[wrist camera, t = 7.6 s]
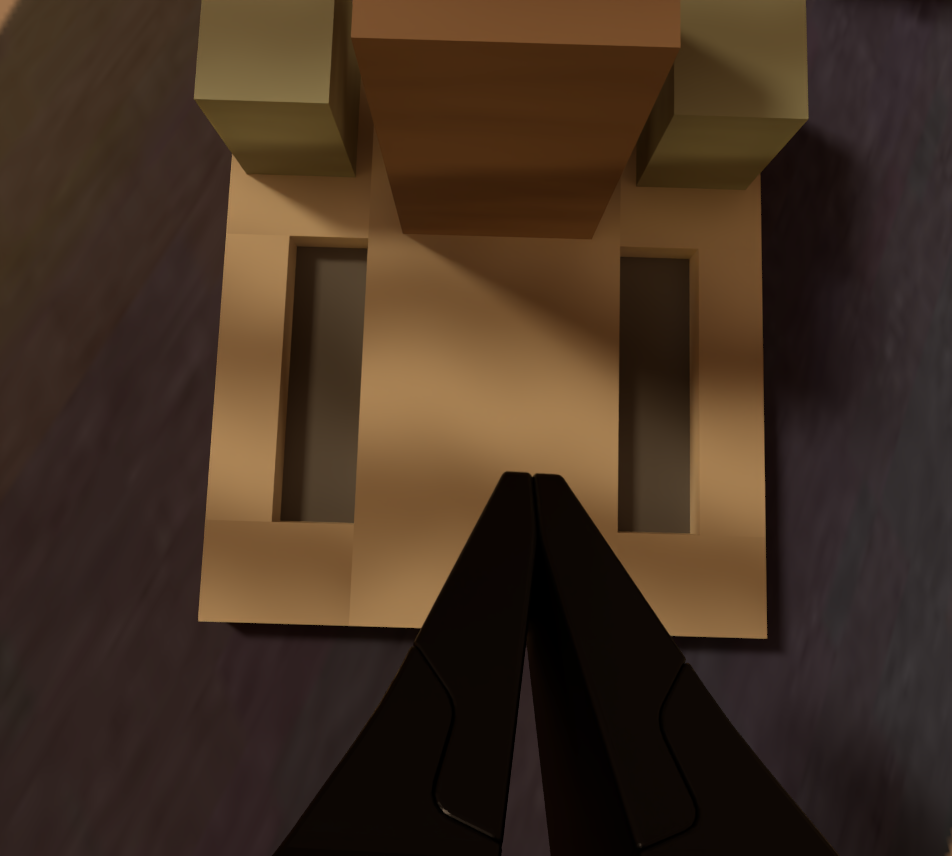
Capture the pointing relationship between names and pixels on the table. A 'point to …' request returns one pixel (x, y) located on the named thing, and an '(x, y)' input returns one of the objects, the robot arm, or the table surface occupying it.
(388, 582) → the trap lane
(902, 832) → the table surface
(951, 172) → the table surface
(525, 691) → the table surface
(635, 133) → the walnut block
